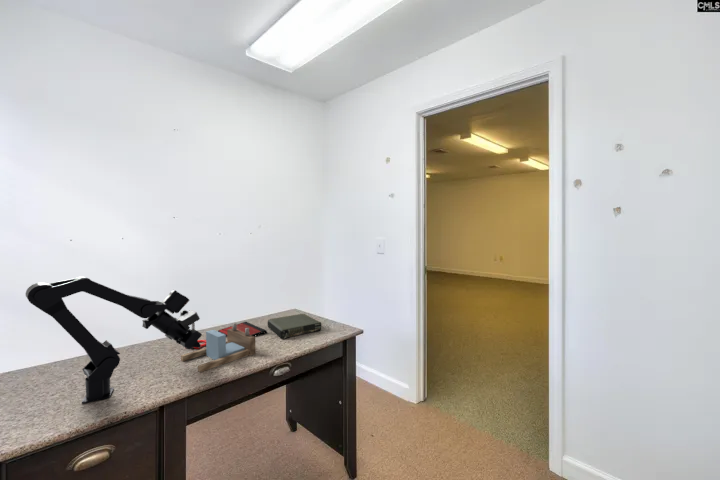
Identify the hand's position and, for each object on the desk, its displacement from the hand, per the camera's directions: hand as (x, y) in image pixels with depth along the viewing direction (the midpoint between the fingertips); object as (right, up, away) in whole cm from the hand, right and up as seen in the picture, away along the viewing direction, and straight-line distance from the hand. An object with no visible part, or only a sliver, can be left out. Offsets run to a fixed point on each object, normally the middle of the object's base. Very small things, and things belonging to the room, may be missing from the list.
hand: (199, 346), depth 117 cm
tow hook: (-10, -6, +19) cm, 22 cm away
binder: (+2, -6, +35) cm, 35 cm away
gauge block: (+6, -6, +8) cm, 12 cm away
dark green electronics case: (+27, -6, +40) cm, 49 cm away
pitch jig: (+5, -6, +6) cm, 10 cm away
